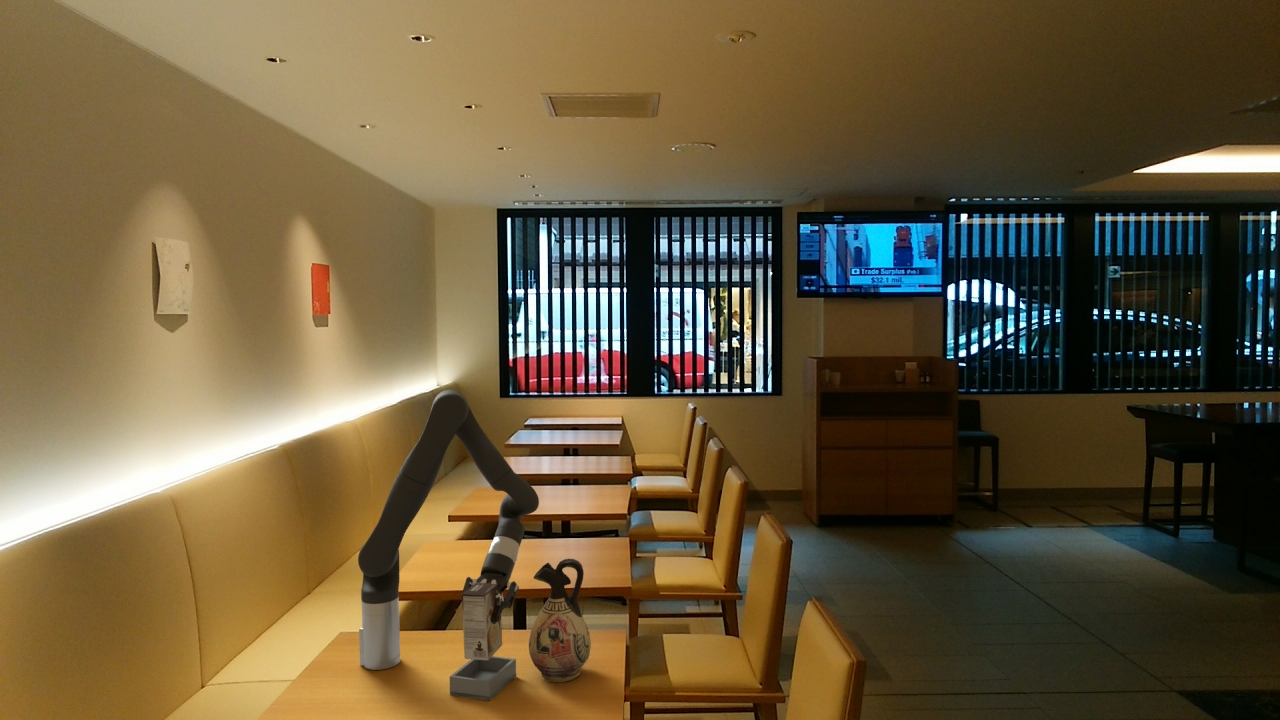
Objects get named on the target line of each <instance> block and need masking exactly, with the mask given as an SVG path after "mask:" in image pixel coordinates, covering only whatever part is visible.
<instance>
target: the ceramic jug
mask: <svg viewBox="0 0 1280 720" xmlns="http://www.w3.org/2000/svg"><path fill="white" fill-rule="evenodd" d="M564 568H571V569H574V570H575V571H576V579H575V584H574V587H573V589H572V592H571V594H570V596H569V595H568V593H567V591H566V588H565V587H566V586H568V585H571V584H572V580H571V579H570V577H569V576H568V575H567V574H565V572H564V571H563V569H564ZM533 579H534V580H535V581H540V582H543V583H545V584H548V585H549V587H550V589H551V592H550V595H549V596H548V599H547V600H546V601H545V603H544V604H543V606H542V608H540V611H539V612H538V614H537V616H536V618H535V620H534V621H533V624H532V627H531V630H530V635H529V639H528V652H529V656H530V659H531V661H532V663H533V665H534V666H535V668H536V669H537V670H538V671H539V672H540V673H541V677H542V679H543V678H544V679H543V680H545V681H547V682H550V683H564V682H565V683H566V682H569V681H572V680H574V679H576V678H577V677H579V676H580V675H581V669H582V668H583V667H584V665H585V664H586V663H587V660H589V656H590V653H591V648H592V647H591V646H592V645H591V644H592V642H591V637H590V636H591V634H590V631H589V627H588V625H587V622H586V621H585V619H584V617H583V616H582V612H581V609H580V604H579V602H578V596H579V594H580V591H581V588H582V583H583V581H584V568H583V565H582V563H581V562H580V561H579V560H576V559H575V558H566V559H563V560H560V561H559V563H558V564H557V565H556V567H555V568H554V567H553V565H551V564H550V562H547V563H545V564H544V565H542V566H541V568H540V569H538V570H537V572H535V574H534V576H533Z"/></svg>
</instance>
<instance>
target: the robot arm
mask: <svg viewBox="0 0 1280 720" xmlns="http://www.w3.org/2000/svg"><path fill="white" fill-rule="evenodd" d="M430 408H431V409H430V412H429V415H428V418H427V421H426V423H425V425H424V428H423V430H422V433H421V435H420V437H419V439H418V441H417V442H416V444H415V445H414V447H413V448H412V449H411V451H410V452H409V454H408V455H407V457H406V459H405V460H404V462H403V463H402V464H401V465H402V466H401V467H400V469H399V472H398V473H397V476H396V477H395V479H394V481H393V484H392V485H391V488H390V490H389V493H388V495H387V498H386V501H385V504H384V506H383V509H382V512H381V514H380V517H379V519H378V522H377V524H375V527H374V529H373V531H372V532H371V534H370V536H369V537H368V538H367V540H366V541H365V542H364V543H363V545H362V547H361V548H360V550H359V552H358V556H357V561H358V567H359V570H360V571H361V573H362V584H361V590H360V591H361V594H360V596H361V597H360V598H361V621H362V623H361V625H362V627H360V628H359V629H358V635H359V636H358V637H359V638H358V639H359V665H360V666H363V667H364V668H365V669H367V670H371V671H372V670H374V671H377V670H378V671H379V670H387V669H390V668H394V667H395V666H397V665H398V664H399V663H400V662H401V637H400V635H401V633H400V632H401V630H400V629H401V628H400V602H399V600H400V598H399V597H400V596H399V595H400V593H399V592H400V591H399V590H400V589H399V588H400V579H401V578H400V577H401V576H400V545H401V543H402V540H403V539H404V536H405V533H406V532H407V530H408V528H409V527H410V525H411V524H412V522H413V521H414V519H416V518H415V517H416V516H417V515H418V513H419V512H420V509H421V508H422V507H423V504H424V503H425V502H426V500H427V498H428V496H429V494H430V492H431V490H432V488H433V486H434V484H435V481H436V479H437V476H438V475H439V472H440V469H441V466H442V465H443V460H444V458H445V455H446V452H447V450H448V448H449V446H450V444H451V442H452V440H453V439H454V438H455V435H456V436H457V438H458V439H459V440H460V441H461V443H462V444H463V446H464V447H465V449H466V450H467V452H468V454H469V455H470V457H471V459H472V461H473V462H474V464H475V465H476V468H477V469H478V470H479V472H480V474H481V475H482V476H483V477H484V479H485V480H486V481H487V483H488V484H489V486H491V488H492V489H493V490H494V491H496V492H504V493H505V494H506V495H505V496H504V497H503V499H502V501H501V504H500V506H499V514H498V526H497V528H496V531H495V533H494V536H493V539H492V541H491V543H490V546H489V547H488V550H487V553H486V556H485V558H484V561H483V564H482V567H481V571H480V573H479V576H478V577H477V578H471V577H470V576H467V577H466V578H465V582H464V586H463V589H462V593H461V595H460V599H461V600H462V594H463V593H464V592H465V591H466V590H468V589H469V588H470V587H471V586H472V585H474V584H475V583H476V582H480V583H487V582H491V584H497V583H500V585H499V589H497V593H496V606H495V607H494V610H493V613H492V616H491V619H490V621H491V622H492V624H496V622H498V621H499V619H500V616H501V617H502V612H503V611H504V609H512V606H513V604H514V601H515V598H516V596H517V594H518V591H519V589H520V586H519V585H518V583H517V582H516V581H511V582H509V581H510V579H511V577H512V573H513V571H514V568H515V565H516V562H517V560H518V559H517V558H518V555H519V549H520V546H521V543H522V541H523V537H524V535H525V526H524V524H523V523H522V522H521V519H522V517H525V516H527V515H530V514H533V513H535V512H536V511H537V510H538V508H539V505H540V499H539V495H538V493H537V491H536V490H535V489H534V488H533V486H532V485H531V484H530V483H528V482H527V481H526V480H525V479H523V478H522V477H521V476H520V475H519V474H518V473H516V472H515V471H514V470H513V468H512V467H511V465H510V464H509V463H508V461H507V460H506V459H505V457H504V456H503V455H502V453H501V452H500V451H499V450H498V448H497V447H496V445H494V443H493V442H492V441H491V439H490V438H489V437H488V436H487V435H486V432H485V431H484V430H483V429H482V427H481V425H480V423H478V421H477V419H476V418H475V416H474V413H473V412H472V409H471V407H470V405H469V402H468V399H467V398H466V395H464V394H463V393H461V392H460V391H458V390H456V389H446V390H442V391H441V392H439V393H437V395H436V396H435V398H434V400H433V402H432V405H431V407H430ZM506 590H507V593H506V595H505V597H504V595H503V592H505V591H506Z"/></svg>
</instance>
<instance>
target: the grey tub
mask: <svg viewBox="0 0 1280 720" xmlns="http://www.w3.org/2000/svg"><path fill="white" fill-rule="evenodd" d="M516 659H517V658H511V657H504V656H498V655H497V656H496V655H493V656H492V657H491V658H490V659H489V660H475V659H469V660H468V661H467V662H466V663H464V665H462V666H461V667H459V668H458V669H457V670H456V671H455V672H454V673H452V674H451V675H449V696H452V697H453V696H454V697H460V698H461V697H462V698H466V699H467V698H468V699H475V700H480V701H487V702H490V701H492V700H493V699H492V698H495V697H496V696H497V695H498V694H499V693H500V692H501V691H503V689H504V688H505V687H506V685H509V684H510V683H511V682H512V681H513V680H514V679H515V678H516V677H517V663H516V662H517V660H516ZM509 682H510V683H509ZM508 683H509V684H508Z"/></svg>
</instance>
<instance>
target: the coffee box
mask: <svg viewBox="0 0 1280 720" xmlns="http://www.w3.org/2000/svg"><path fill="white" fill-rule="evenodd" d="M499 585H500V583H497V584H491V582H487V583H480V582H476V583H475V584H474V585H472V586H471V587H470V588H469V589H468V590H466V591H465V592H464V593H463V594H462V593H461V595H462V599H461V600H462V602H461V603H462V604H461V606H462V624H463V625H462V627H463V629H462V631H463V632H462V633H463V652H464V659H465V660H471V659H475V660H489V659H490V658H491V657H492V656H495V654H496V652H497V651H498V650H500V648H501V647H502V645H503V635H502V634H503V631H502V629H503V628H502V615H501V616H500V619H499V621H498V622H496V624H492V622H491V621H490V619H491V616H492V613H493V610H494V607H495V606H496V593H497V589H499Z"/></svg>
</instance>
